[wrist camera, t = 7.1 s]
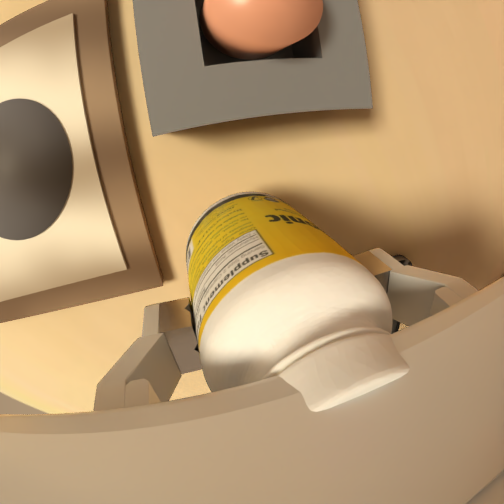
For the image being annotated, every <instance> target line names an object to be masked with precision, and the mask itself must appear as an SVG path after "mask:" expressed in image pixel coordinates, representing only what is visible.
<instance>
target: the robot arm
mask: <svg viewBox="0 0 504 504" xmlns="http://www.w3.org/2000/svg"><path fill="white" fill-rule="evenodd" d="M353 257H354V258H355V259H356V260H357V261H359V262H360V263H361V264H362V265H363V266H364V267H366V268H367V269H368V270H369V271H370V273H372V274H373V275H374V276H375V278H376V279H377V280H378V281H379V282H380V283H381V285H382V286H383V288H384V290H385V292H386V294H387V296H388V298H389V301H390V304H391V309H392V319H394V320H396V321H398V322H400V323H403V324H405V325H407V326H409V327H406V328H404V329H402V330H400V331H397V332H395V333H393V334H390V336H391V338H392V341H393V344H394V346H395V348H396V350H397V352H398V353H399V355H400V356H401V357H402V358H403V359H404V360H405V362H406V363H407V364H408V366H409V368H410V369H409V371H408V373H406V374H405V375H403V376H402V377H400V378H398V379H396V380H394V381H392V382H389V383H387V384H385V385H383V386H381V387H379V388H376V389H374V390H372V391H370V392H368V393H365V394H363V395H361V396H358V397H356V398H354V399H351V400H349V401H346V402H344V403H341V404H339V405H336V406H334V407H331V408H329V409H326V410H322V411H318V412H314V411H311V410H310V409H309V408H308V407H307V405H306V402H305V400H304V397H303V396H302V394H301V392H300V391H298V390H297V389H295V388H294V387H293V386H291V385H290V384H289V383H287V382H286V381H285V380H284V379H283V378H281V377H278V375H277V376H273V377H270V378H266V379H263V380H259V381H256V382H252V383H248V384H244V385H240V386H236V387H232V388H228V389H224V390H220V391H216V392H211V393H207V394H202V395H197V396H193V397H188V398H182V399H177V400H172V401H169V399H170V397H171V396H172V394H173V392H174V390H175V388H176V386H177V384H178V382H179V380H180V378H181V376H182V375H181V374H184V373H188V372H192V371H196V370H200V369H202V365H201V361H200V354H199V348H198V342H197V336H196V330H195V324H194V318H193V310H192V305H191V301H190V299H189V297H187V298H182V299H177V300H173V301H168V302H163V303H160V304H159V303H158V304H153V305H149V306H146V307H145V308H144V318H143V330H142V337H140V338H138V339H137V340H136V341H135V342H134V343H133V344H132V345H131V346H130V348H129V349H128V350H127V351H126V352H125V353H124V354H123V355H122V357H121V358H120V359H119V360H118V361H117V362H116V363H115V365H114V366H113V367H112V368H111V369H110V370H109V372H108V373H107V374H106V375H105V376H104V377H103V378H102V380H101V381H100V382H99V383H98V384H97V389H96V396H95V403H94V411H91V412H79V413H64V414H37V415H10V414H0V504H504V276H503V277H502V278H500V279H498V280H497V281H495V282H493V283H492V284H490V285H488V286H486V287H485V288H483V289H481V290H479V291H478V290H477V289H476V288H475V287H473V286H472V285H471V284H469V283H468V282H467V281H465V280H464V279H462V278H461V277H456V276H452V275H448V274H444V273H440V272H435V271H431V270H427V269H423V268H418V267H414V266H410V265H406V266H404V265H402V264H401V263H400V262H398V261H397V260H396V259H394V258H393V257H392V256H390V255H389V254H388V253H386V252H385V251H384V250H382V249H381V248H375V249H372V250H369V251H366V252H363V253H360V254H357V255H353Z"/></svg>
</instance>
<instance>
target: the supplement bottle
mask: <svg viewBox="0 0 504 504" xmlns="http://www.w3.org/2000/svg"><path fill="white" fill-rule="evenodd" d="M186 263H187V272H188V280H189V289H190V295H191V302H192V310H193V318H194V324H195V330H196V336H197V342H198V348H199V354H200V361H201V365H202V369H203V373H204V377H205V380H206V382H207V384H208V386H209V388H210V390H211V392H216V391H220V390H224V389H228V388H232V387H236V386H240V385H244V384H248V383H252V382H256V381H259V380H263V379H266V378H270V377H273V376H277V375H278V377H281V378H283V379H284V380H285V381H286V382H287V383H289V384H290V385H291V386H293V387H294V388H295V389H297V390H298V391H300V392H301V394H302V396H303V397H304V400H305V402H306V405H307V407H308V408H309V409H310V410H311V411H314V412H318V411H322V410H326V409H329V408H331V407H334V406H336V405H339V404H341V403H344V402H346V401H349V400H351V399H354V398H356V397H358V396H361V395H363V394H365V393H368V392H370V391H372V390H374V389H376V388H379V387H381V386H383V385H385V384H387V383H389V382H392V381H394V380H396V379H398V378H400V377H402V376H403V375H405V374H406V373H408V371H409V369H410V368H409V366H408V364H407V363H406V362H405V360H404V359H403V358H402V357H401V356H400V355H399V353H398V352H397V350H396V348H395V346H394V344H393V341H392V338H391V336H390V334H391V332H392V323H393V321H392V309H391V304H390V301H389V298H388V296H387V294H386V292H385V290H384V288H383V286H382V285H381V283H380V282H379V281H378V280H377V279H376V278H375V276H374V275H373V274H372V273H370V271H369V270H368V269H367V268H366V267H364V266H363V265H362V264H361V263H360V262H359V261H357V260H356V259H355V258H354V257H353V256H352V255H351V254H349V253H348V252H347V251H346V250H345V249H343V248H342V247H341V246H340V245H339V244H338V243H336V242H335V241H334V240H333V239H332V238H330V237H329V236H328V235H327V234H325V233H324V232H323V231H322V230H320V229H319V228H318V227H317V226H315V225H314V224H313V223H312V222H310V221H309V220H308V219H306V218H305V217H304V216H303V215H301V214H300V213H299V212H297V211H296V210H295V209H293V208H292V207H291V206H290V205H288V204H287V203H285V202H284V201H282V200H280V199H278V198H276V197H274V196H271V195H269V194H265V193H259V192H242V193H237V194H233V195H230V196H227V197H225V198H223V199H221V200H219V201H217V202H216V203H214V204H213V205H211V206H210V207H209V208H208V209H207V210H206V211H204V212H203V214H202V215H201V216H200V217H199V218H198V220H197V221H196V223H195V224H194V226H193V228H192V230H191V232H190V235H189V238H188V242H187V248H186Z"/></svg>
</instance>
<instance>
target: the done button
mask: <svg viewBox="0 0 504 504" xmlns="http://www.w3.org/2000/svg"><path fill="white" fill-rule="evenodd" d="M322 12H323V0H204V2H203V5H202V8H201V12H200V25H201V29H202V31H203V34H204V35H205V37H206V39H207V40H208V41H209V43H210V44H211V45H212V46H213V47H215V48H216V49H217V50H219V51H220V52H222V53H224V54H226V55H228V56H231V57H234V58H238V59H245V60H255V59H261V58H265V57H267V56H270V55H272V54H274V53H276V52H278V51H280V50H282V49H283V48H285V47H287V46H289V45H291V44H293V43H295V42H297V41H299V40H301V39H303V38H305V37H306V36H308V35H309V34H310V33H311V32H313V31H314V29H315V28H316V27H317V25H318V24H319V22H320V19H321V17H322Z"/></svg>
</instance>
